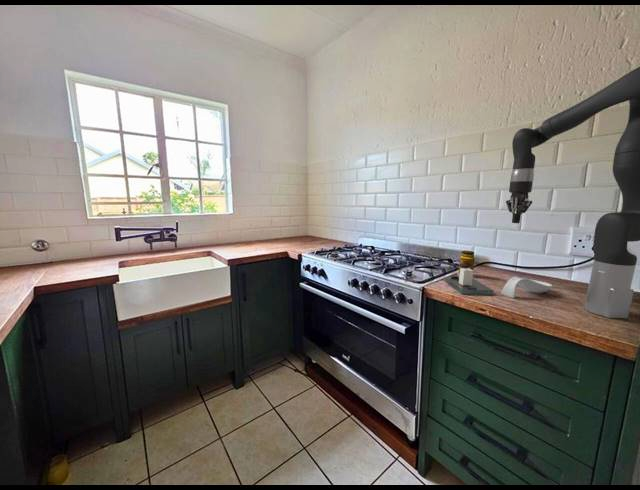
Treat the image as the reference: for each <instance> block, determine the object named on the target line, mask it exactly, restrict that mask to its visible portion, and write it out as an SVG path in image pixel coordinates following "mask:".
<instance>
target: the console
mask: <svg viewBox="0 0 640 490" xmlns="http://www.w3.org/2000/svg"><path fill="white" fill-rule="evenodd" d="M444 283H446V284H447V285H448V286H450V287H451V288H453V289H454V290H455V291H456V292H458V293H459V294H460V295H466V296H467V295H469V296H470V295H471V296H472V295H473V296H476V295H478V296H494V292H495V291H494V289H492V288H490V287H489V286H487V285H486V284H483V283H482V282H480V281H478V280H477V279H476V278H473V279H472V286H470V285H461V284H460V283H459V276H458V275H450V277H446V276H445V277H444Z"/></svg>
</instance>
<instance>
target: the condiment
mask: <svg viewBox="0 0 640 490" xmlns="http://www.w3.org/2000/svg"><path fill="white" fill-rule="evenodd" d="M474 256H475V251H473V250H461V256H460V258H459V266H458V271H456V274H457V276H460V268H469V269H471V270H473V271H474V266H475V257H474ZM473 279H476V276H475V275H474V274H473Z"/></svg>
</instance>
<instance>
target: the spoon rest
mask: <svg viewBox="0 0 640 490" xmlns="http://www.w3.org/2000/svg"><path fill="white" fill-rule="evenodd" d="M518 286H519V287H520V288H521V289H522V291H525V292H528V293H532V294H542V293H544V292H548V291H549V290H551V289H552V288H553V285H552V284H551V283H548V282H545V281H541V280H535V279H530V278H525V277H522V278H521V277H518V276H513V277H511V278H510V279H509V280H508V281H507V282H506V283H505V285H504V286H503V288H502V290H501V296H504V297H506V298H507V297H508V298H510V299H515V296H516V289H517V287H518Z"/></svg>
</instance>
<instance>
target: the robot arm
mask: <svg viewBox="0 0 640 490" xmlns="http://www.w3.org/2000/svg"><path fill="white" fill-rule="evenodd" d="M628 101H629V102H628ZM624 102H628V103H629V111H628V120H627V125H626V126H625V129H624V131H623V133H622V135H621V136H620V138H619V140H618V142H617V145H616V147H615V150H614V155H613V162H612V174H613V177H614V179H615V180H614V181H615V182H616V183H617V186H618V188H619V190H620V192H621V197H622V205H621V211H620V212H615V211H614V212H608V213H604V214H603V215H602V216H601V217H599V219H598V221H597V222H596V225H595V229H594V236H593V244H592V251H593V254H594V258H593V263H592V268H591V272H590V273H591V274H590V278H589V283H588V289H587V291H586V299H585V304H584V310H586V311H587V312H589V313H592V314H594V315H595V314H596V315H599V316H602V317H606V318H608V319H629V314H630V309H631V305H632V301H633V296H634V289H632V284H633V283H632V282H633V279H634V274H635V269H636V265H637V262H638V257H637V256H636V255H635V254H634V253H631V252H630V251H629V250H628V242H629V243H630V242H639V241H640V66H638V67H636V68H635V69H632V70H631V71H630V72H627V73H626V74H624V75H623V76H621V77H620V78H618V79H617V80H615V81H614V82H612V83H610V84H609V85H607V86H606V87H604V88H602V89H600V90H599V91H598V92H596V93H594V94H592V95H591V96H589V97H587V98H585V99H584V100H582V101H581V102H579V103H576V104H574V105H573V106H570V107H569V108H567V109H565V110H562V111H560V112H558V113H557V114H554V115H553V116H550V117H549V118H547V119H545V120H543V122H542V123H541V125H540V126H538V127H536V128H534V129H533V128H528V127H524V128H520V129H519V130H518V131H516V133H514V135H513V138H512V144H511V145H512V153H513V154H512V155H513V164H512V171H511V174H510V182H509V190H508V192H509V193H511V195H510V197H509V198H510V199H508V200H506V201H505V203H506V206H507V210H508V212H509V213H511V214H512V217H511V223H512V224H520V222H521V215H523V214H526V212H527V211H528V210H529V208H530V206H532V204H533V201H532V200H529V198H530V197H529V194H530V193H531V192H532V191H533V183H534V177H535V176H534V175H535V166H536V165H535V163H536V155H535V154H534V153H533V152H532V149H533V148H536V147H538V146H539V147H540V146H541V145H543V144H544V143H546V142H547V141H549V140H551V139H553V137H556V136H558V135H561V134H564V133H566V132H568V131H571V130H572V129H575V128H577V127H578V126H580V125H582V124H583V123H585V122H587V121H588V120H589V119H590V118H592V117H594V116H595V115H597V114H599V113H601V112H602V111H604V110H606V109H609V108H612V107H613V106H616V105H618V104H619V105H620V104H621V103H622V104H623V103H624Z"/></svg>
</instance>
